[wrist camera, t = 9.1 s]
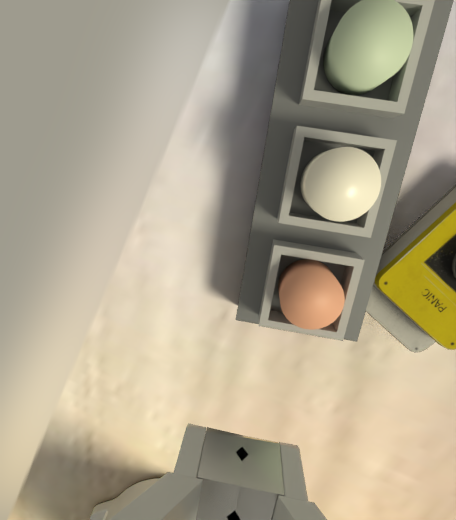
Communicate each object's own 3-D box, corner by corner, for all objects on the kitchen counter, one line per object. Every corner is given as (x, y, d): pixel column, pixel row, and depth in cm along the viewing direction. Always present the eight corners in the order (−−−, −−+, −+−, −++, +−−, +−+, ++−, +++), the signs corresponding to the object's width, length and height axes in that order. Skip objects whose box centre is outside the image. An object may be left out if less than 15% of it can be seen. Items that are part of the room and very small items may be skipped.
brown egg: (328, 316, 27) (336, 334, 24) (273, 307, 27) (274, 323, 24) (341, 264, 26) (351, 276, 23) (283, 254, 26) (286, 265, 23)
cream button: (357, 219, 24) (370, 226, 21) (294, 209, 24) (299, 215, 21) (373, 154, 23) (390, 153, 20) (307, 144, 23) (314, 141, 20)
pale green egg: (382, 99, 23) (400, 89, 20) (317, 90, 23) (325, 78, 20) (401, 24, 21) (423, 2, 19) (332, 15, 22) (343, -9, 19)
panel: (347, 325, 30) (364, 354, 26) (237, 305, 31) (233, 331, 26) (430, 19, 24) (473, -19, 19) (289, 1, 24) (296, -40, 20)
